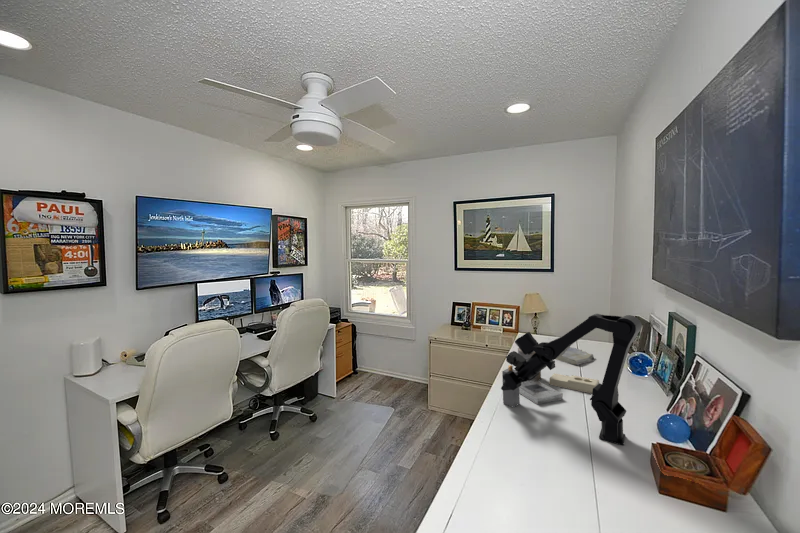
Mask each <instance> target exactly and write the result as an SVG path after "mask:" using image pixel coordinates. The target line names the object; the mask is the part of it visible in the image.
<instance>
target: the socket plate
mask: <svg viewBox="0 0 800 533" xmlns="http://www.w3.org/2000/svg"><path fill="white" fill-rule="evenodd" d="M521 394H522V396H523V397H525V398H526V399H527V400H529V399H530V401H531V402H533V403H535V404H536V405H537V406H538V405H542V404H547V403H552V402H556V401H561V400H563V399H564V398H563V393H562V392H560V391H559V390H556V389H554V388H553V387H551V386H549V385H547V384H545V383H543V382H541V381H540V380H539V381H537V380H535V379H534V380H529V381H526V382H521V386H520V387H519V395H521Z"/></svg>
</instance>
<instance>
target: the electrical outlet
mask: <svg viewBox="0 0 800 533" xmlns="http://www.w3.org/2000/svg"><path fill="white" fill-rule="evenodd" d="M548 379H549V385H550V386H553V387H554V386H556V387H559V388H565V389H567V390H568V389H570V390H572V391H573V390H574V391H579V392H583V393H588V394H592V391H593V388H594V387H595V386H597V385H598V384H599V383H600V380H598V379H595V378H590V377H586V376H585V377H583V376H579V375H574V374H571V375H565V374H560V373H555V372H554V373H553V374H552V375H551V376H550V377H549V378H548Z"/></svg>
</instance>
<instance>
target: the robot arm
mask: <svg viewBox="0 0 800 533" xmlns="http://www.w3.org/2000/svg"><path fill="white" fill-rule="evenodd" d="M596 329H600V330H603V331H605V332H609V333H612V341H613V344H612V345H613V346H612V348H611V352H610V354H609V359H608V362H607V365H606V369H605V373H604V376H603V380H602V382H601V383H600V382H599V384H598V385H597V386H595V387H594V388H593V391H592V393H591V397H590V398H589V401H591V402H590V405H591V407H592V409H593V411H594V412H595V413H596V416H597V418H598V421H599V422H601V426H600V427H601V428H600V429H601V430H600V432H599V436H598V438H599V440H603V441H606V442H610V443H614V444H617V445H621V446H624V445H625V439H626V434H625V433H624V420H623V418H624V417H625V416H626V413H627V410H626V408H625V407H624V406H623V405H622V404H621V403H620V401H619V383H620V381H621V377H622V374H623V371H624V367H625V364H626V361H627V357H628V353H629V350H630V348H631V346H632V344H633V343H634V341H635V339H636V338H637V337H638V334H639V332H640V331H641V329H642V322H641V320H639V318H637V317H636V316H634V315H631V314H630V315H629V314H628V315H626V314H625V315H623V316H621V315H620V316H618V315H608V314H600V313H595V314H592V315H589V316H588V318H586V320H584V321H582V322H581V323H579V325H577V326H575V327H574V328H573V329H571V330H569V331H568V332H566V333H565V334H564V335H562V336H560V337H558V338H555V339H553V340H550V341H549V342H546V341H545V342H544V341H542V342H540V343H539V342H538V341H537V340H536V339H535V337H534V336H533V334H532V333H531V332H530V331H528V332H527V331H526V332H525V333H524V334H523V335H522V336H520V337H518V338H517V339H515V341H514V344H516V346H517V347H518V348H520V349H521V351H522V352H523V353H524V354H525V355H527V354H528V355H531V354H532V353H534V352H536V353H535V354H534V355H532V356H531V357H530V358H528V359H527V360H526V359H525V358H524V357H523V356H521V355H520V354H518V351H515V350H512V351H511V352H508V354H507V355H506V356H505V359H506V360H505V361H506V362H507V364H510V365H512V366H513V367H514V368H513V369H514V370H516V371H517V373H518V375H517V376H516V374H515V373H514V372H513V371H509V372H507V373H505V374H504V375H503V376H502V380H503V379H504V380H505V382H504V384H503V383H502V386H501V388H500V389H501V391H502V392H503V391H504V390H513V391H514V390H516V389H517V388H519V387H520V386H521V382H526V381H529V380H532V379H534V378H535V377H537V376H538V375H539V372H540V371H541V372H542V370H544V369H546V367H547V368H548V369H549V370H550V371H551V370H553V369H554V368H556V361H555V360H556V358H558V357H560V356H561V355H563V354H564V353H565V352H566V351H567V350H568V348H569V347H571V346H572V345H573V344H575V343H577V341H580V339H582V338H584V337H585V336H586V335H588V334H590V333H591V332H593V331H595V330H596Z"/></svg>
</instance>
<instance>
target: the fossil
mask: <svg viewBox="0 0 800 533" xmlns="http://www.w3.org/2000/svg"><path fill="white" fill-rule="evenodd" d="M555 360H557V361H560V362H563V363H565V364H570V365H574V366H575V365H576V366H577V365H582V364H586V363H590V362H593V361H595V360H597V359H596V358H595V356H594V354H593V353H589V352H587V351H586V350H585V351H583V350H582V349H580V348H575V347H571V346H570V347H569V348H568V350H567V351H566V352H565V353H564V354H563V355H561V356H560V357H558V358H556V359H555Z"/></svg>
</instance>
